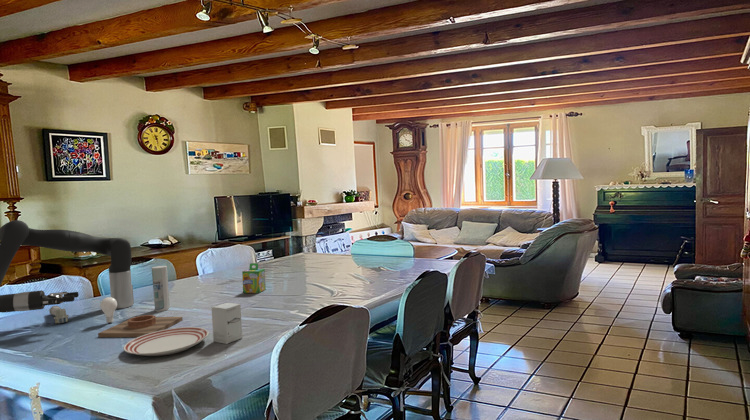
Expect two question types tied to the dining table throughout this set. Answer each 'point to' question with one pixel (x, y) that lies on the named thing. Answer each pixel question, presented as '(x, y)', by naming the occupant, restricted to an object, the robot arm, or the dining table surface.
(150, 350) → the dinner plate
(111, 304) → the lightbulb
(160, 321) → the holder board
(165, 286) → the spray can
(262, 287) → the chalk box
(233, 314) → the supplement box
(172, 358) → the dining table surface
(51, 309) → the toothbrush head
